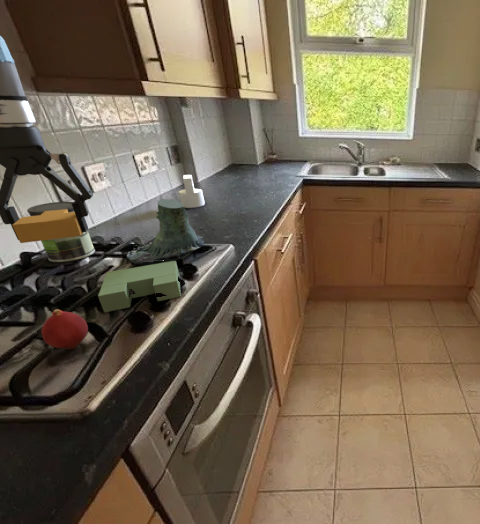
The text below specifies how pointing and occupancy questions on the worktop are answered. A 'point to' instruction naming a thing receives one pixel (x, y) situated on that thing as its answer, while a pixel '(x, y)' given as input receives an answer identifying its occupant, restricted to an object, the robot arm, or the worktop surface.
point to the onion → (64, 330)
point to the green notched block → (139, 284)
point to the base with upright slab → (191, 194)
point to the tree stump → (170, 235)
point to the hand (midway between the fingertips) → (54, 234)
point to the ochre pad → (47, 226)
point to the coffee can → (67, 246)
